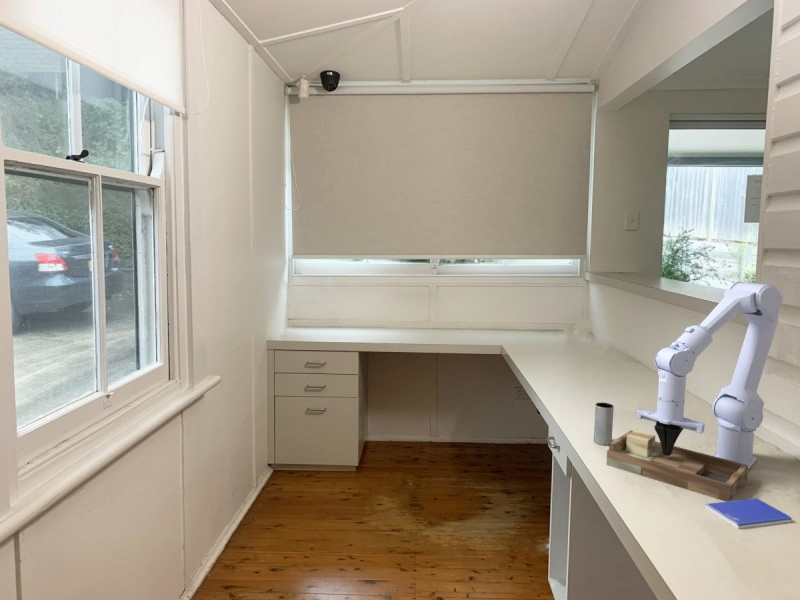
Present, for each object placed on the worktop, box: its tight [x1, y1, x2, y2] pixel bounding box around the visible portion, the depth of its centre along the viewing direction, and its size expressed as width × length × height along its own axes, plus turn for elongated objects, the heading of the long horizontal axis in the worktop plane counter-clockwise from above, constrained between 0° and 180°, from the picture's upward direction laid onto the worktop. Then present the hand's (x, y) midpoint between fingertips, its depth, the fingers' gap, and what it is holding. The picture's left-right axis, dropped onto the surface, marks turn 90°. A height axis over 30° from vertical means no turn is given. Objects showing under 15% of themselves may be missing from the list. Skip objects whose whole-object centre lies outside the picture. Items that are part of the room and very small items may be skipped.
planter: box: [593, 402, 615, 446], centre depth 143 cm, size 4×4×10 cm
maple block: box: [626, 430, 656, 457], centre depth 133 cm, size 5×5×4 cm
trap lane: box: [605, 430, 749, 502], centre depth 125 cm, size 15×26×5 cm, turn 45°
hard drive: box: [704, 498, 793, 530], centre depth 106 cm, size 2×8×12 cm
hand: (667, 454), depth 128 cm, fingers closed
